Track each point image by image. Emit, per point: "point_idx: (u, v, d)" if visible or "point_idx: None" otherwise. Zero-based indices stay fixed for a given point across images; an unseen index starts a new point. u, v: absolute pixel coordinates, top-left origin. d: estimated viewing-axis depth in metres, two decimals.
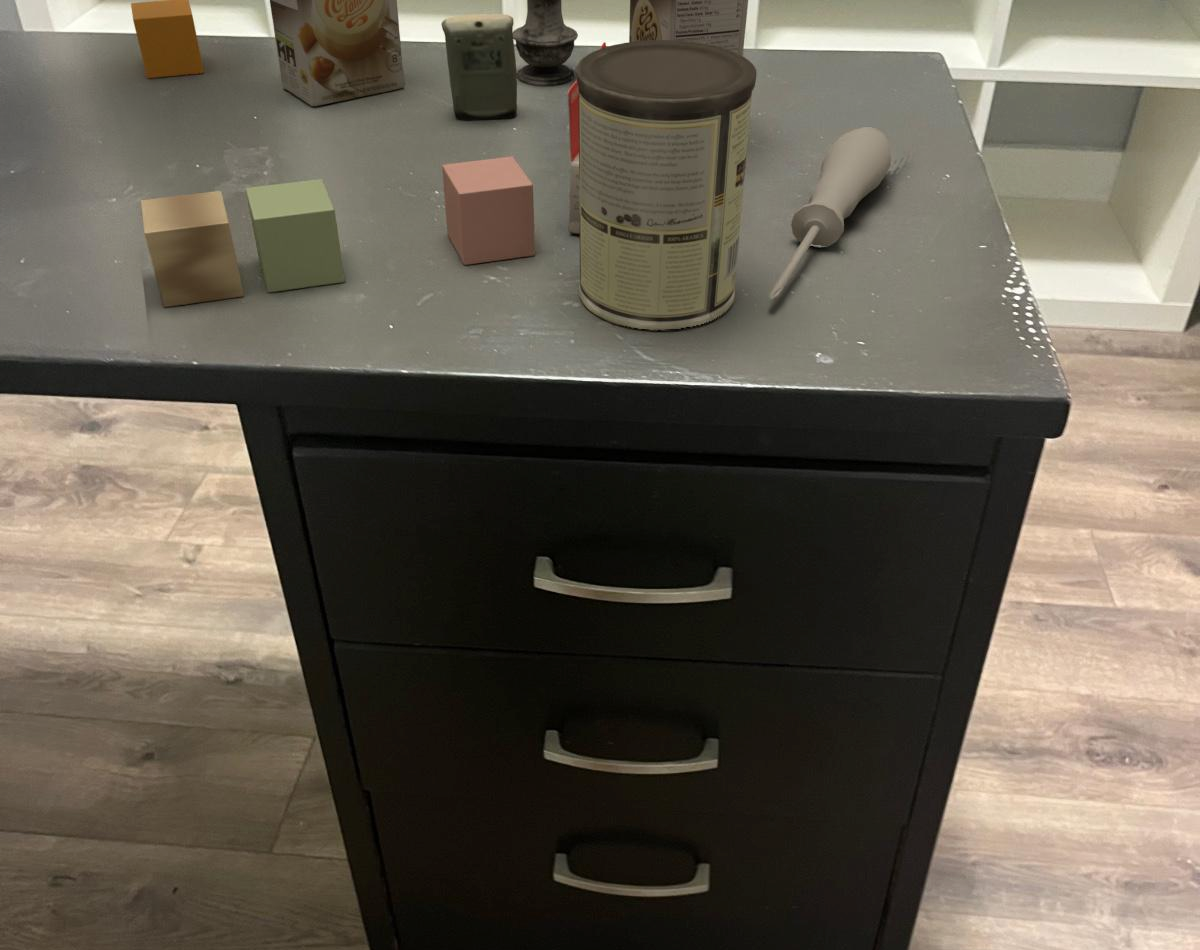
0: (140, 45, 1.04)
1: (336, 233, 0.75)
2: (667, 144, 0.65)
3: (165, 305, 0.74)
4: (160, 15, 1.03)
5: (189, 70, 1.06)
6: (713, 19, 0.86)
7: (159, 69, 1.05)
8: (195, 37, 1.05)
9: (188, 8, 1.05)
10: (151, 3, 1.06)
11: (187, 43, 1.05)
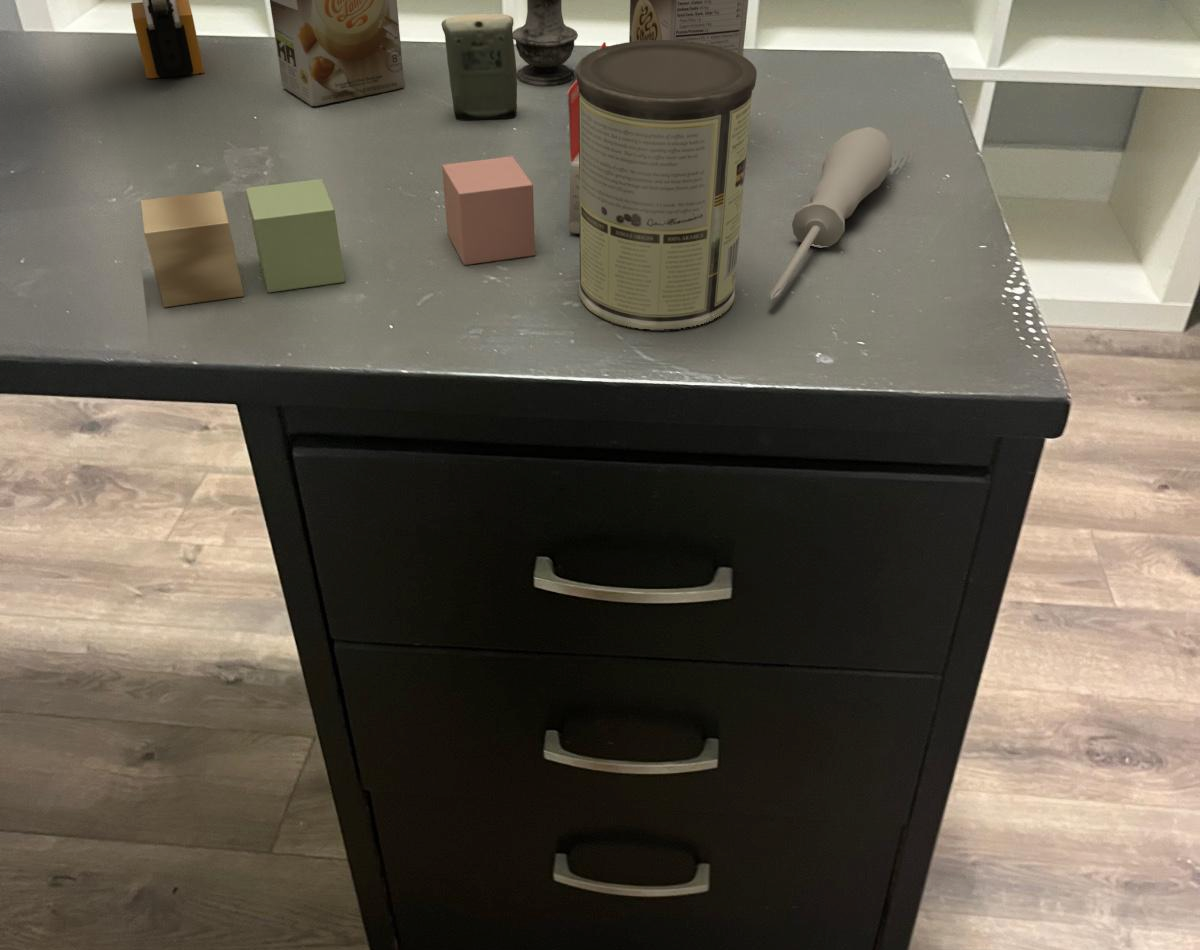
0: (140, 45, 1.04)
1: (336, 233, 0.75)
2: (667, 143, 0.65)
3: (165, 305, 0.74)
4: None
5: None
6: (713, 19, 0.86)
7: None
8: (195, 37, 1.05)
9: (188, 8, 1.05)
10: None
11: None
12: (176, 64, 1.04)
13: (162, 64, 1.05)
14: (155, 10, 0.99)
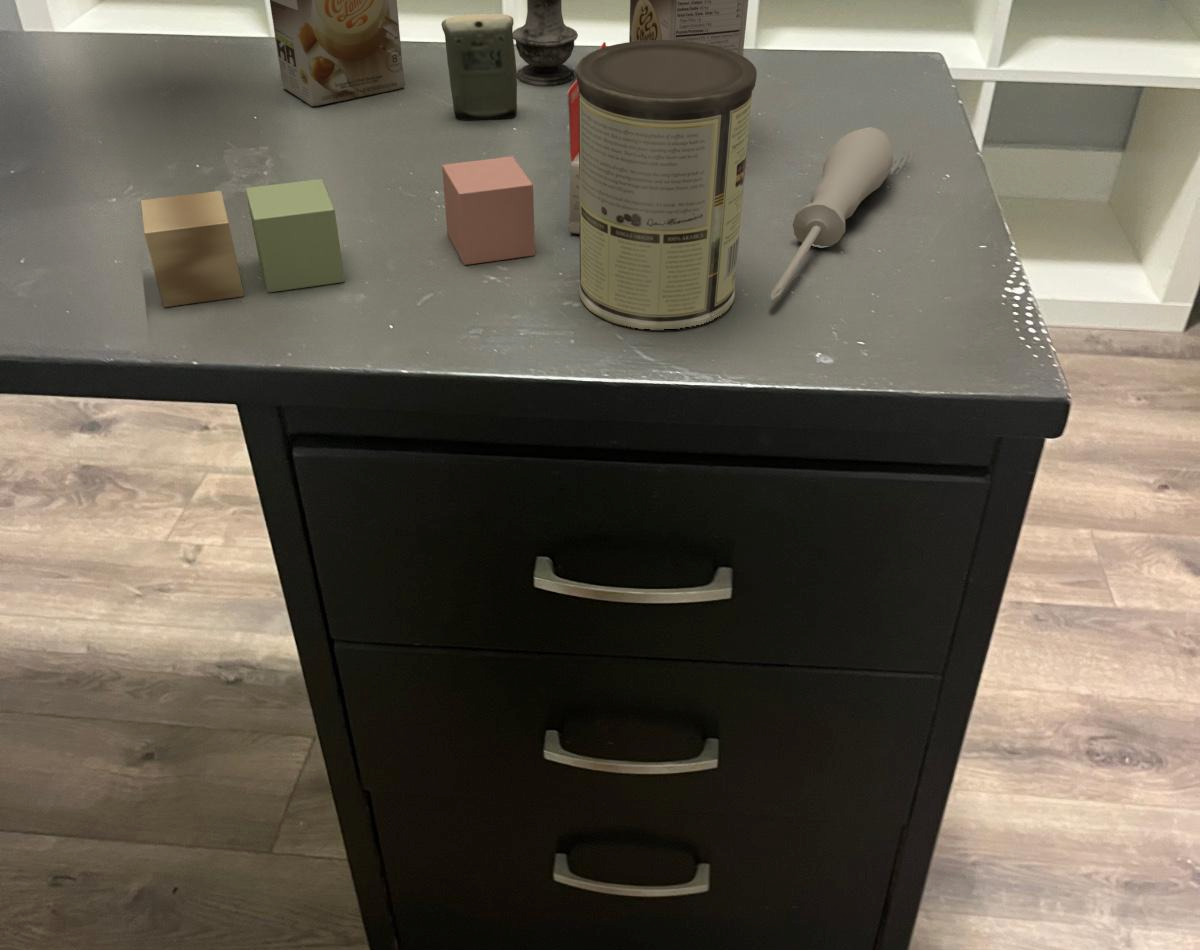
0: None
1: (336, 233, 0.75)
2: (667, 143, 0.65)
3: (165, 305, 0.74)
4: None
5: None
6: (713, 19, 0.86)
7: None
8: None
9: None
10: None
11: None
12: None
13: None
14: None
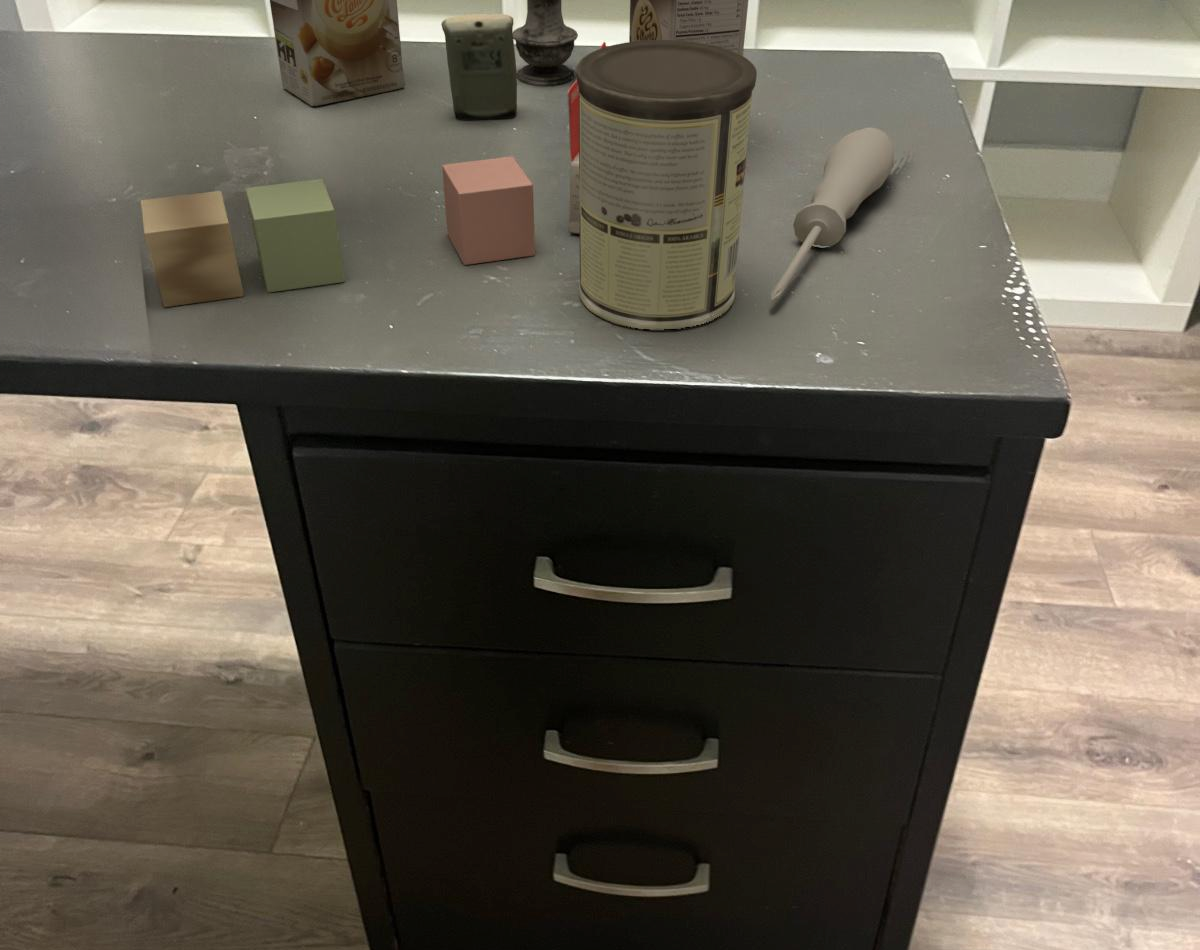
0: None
1: (336, 233, 0.75)
2: (667, 143, 0.65)
3: (165, 305, 0.74)
4: None
5: None
6: (713, 19, 0.86)
7: None
8: None
9: None
10: None
11: None
12: None
13: None
14: None
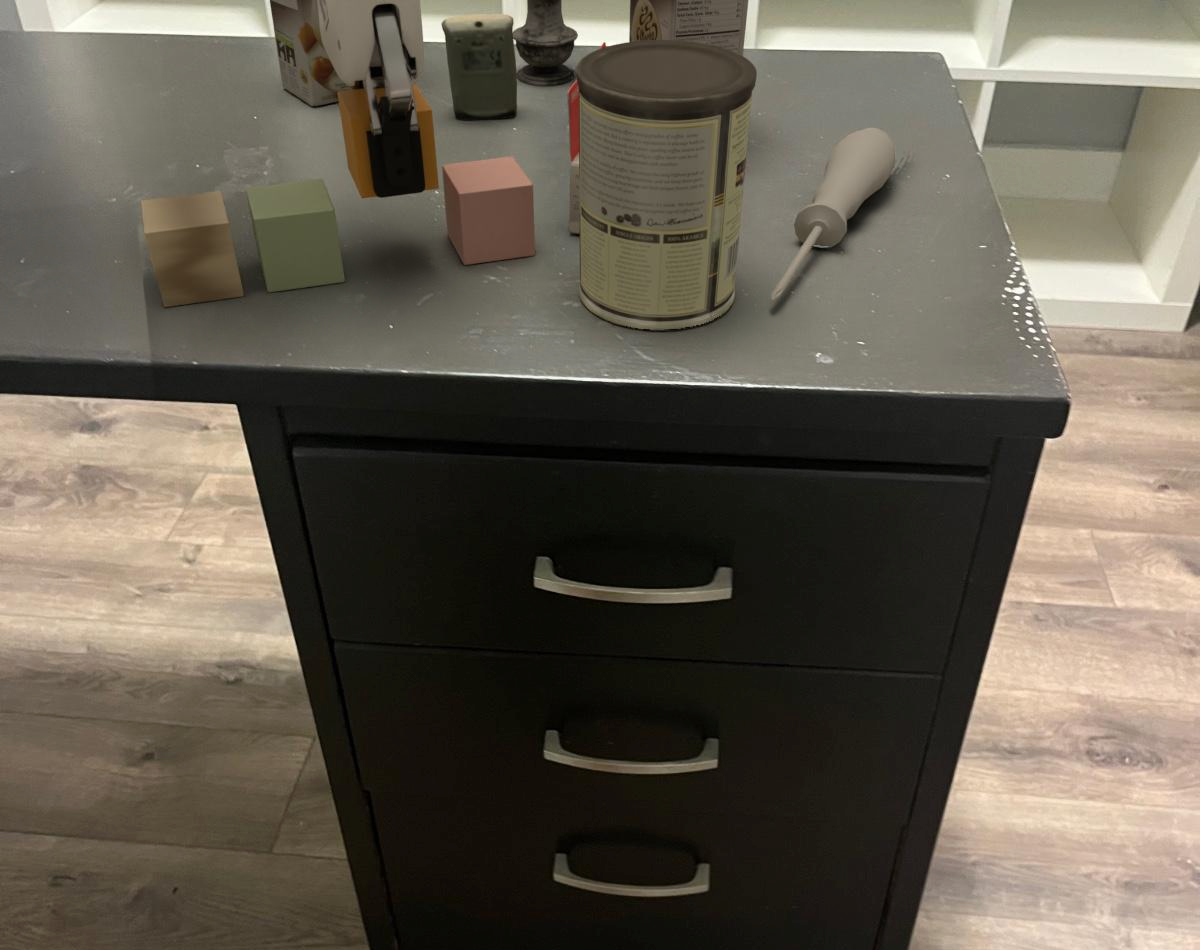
0: (357, 154, 0.72)
1: (336, 233, 0.75)
2: (667, 143, 0.65)
3: (165, 305, 0.74)
4: None
5: None
6: (713, 19, 0.86)
7: None
8: (432, 141, 0.73)
9: (422, 99, 0.73)
10: None
11: None
12: (405, 180, 0.73)
13: (384, 180, 0.73)
14: (392, 110, 0.67)
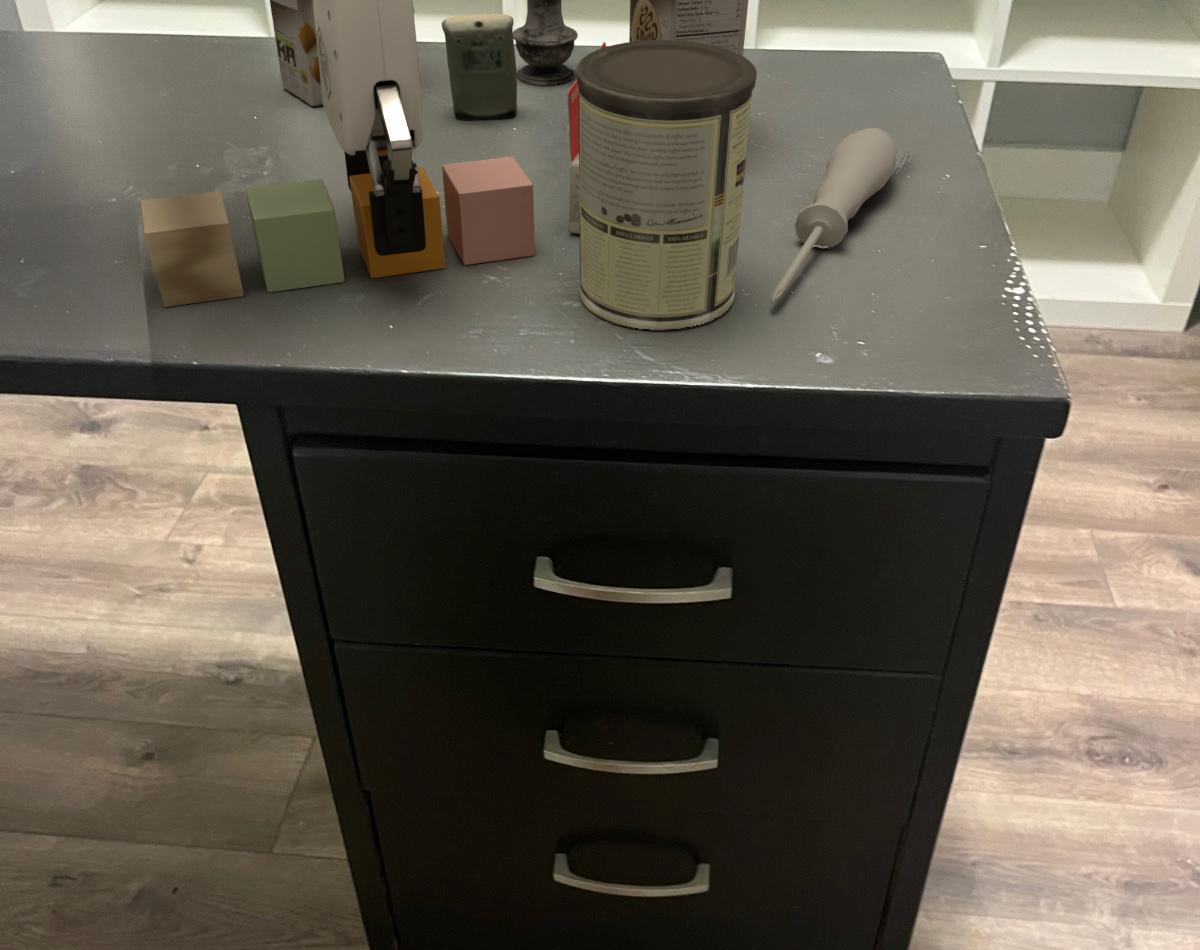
0: (367, 238, 0.76)
1: (336, 233, 0.75)
2: (667, 143, 0.65)
3: (165, 305, 0.74)
4: None
5: (427, 265, 0.78)
6: (713, 19, 0.86)
7: (388, 266, 0.77)
8: (440, 224, 0.77)
9: (430, 185, 0.77)
10: None
11: (428, 233, 0.77)
12: (406, 240, 0.73)
13: (385, 239, 0.74)
14: (394, 166, 0.68)
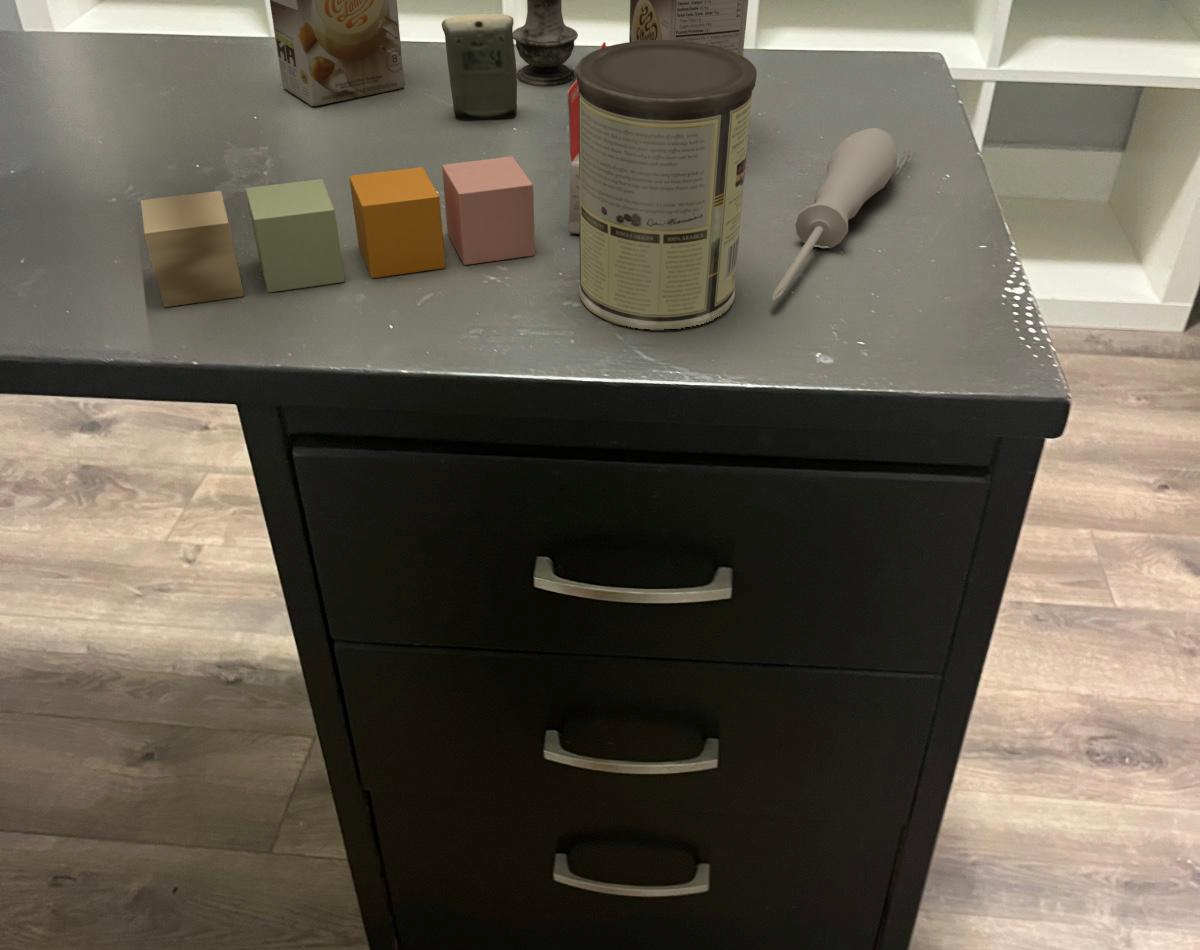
0: (367, 238, 0.76)
1: (336, 233, 0.75)
2: (667, 143, 0.65)
3: (165, 305, 0.74)
4: (397, 198, 0.75)
5: (427, 265, 0.78)
6: (713, 19, 0.86)
7: (388, 266, 0.77)
8: (440, 224, 0.77)
9: (430, 185, 0.77)
10: (377, 176, 0.78)
11: (428, 233, 0.77)
12: None
13: None
14: None
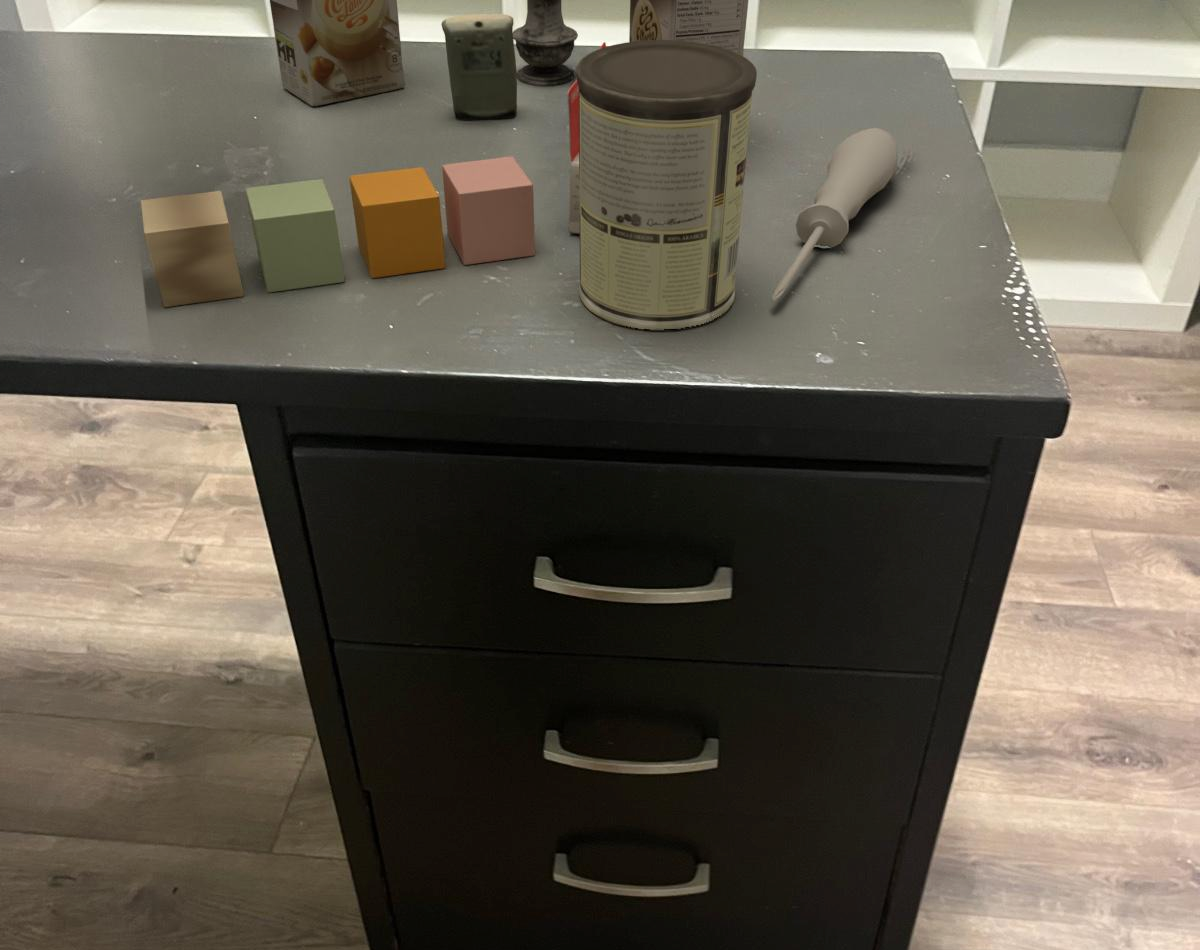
0: (367, 238, 0.76)
1: (336, 233, 0.75)
2: (667, 143, 0.65)
3: (165, 305, 0.74)
4: (397, 198, 0.75)
5: (427, 265, 0.78)
6: (713, 19, 0.86)
7: (388, 266, 0.77)
8: (440, 224, 0.77)
9: (430, 185, 0.77)
10: (377, 176, 0.78)
11: (428, 233, 0.77)
12: None
13: None
14: None
